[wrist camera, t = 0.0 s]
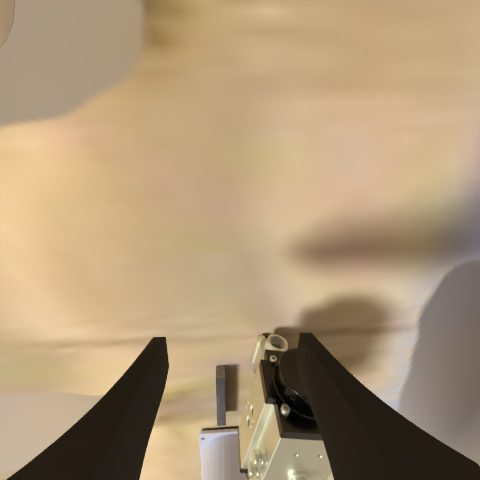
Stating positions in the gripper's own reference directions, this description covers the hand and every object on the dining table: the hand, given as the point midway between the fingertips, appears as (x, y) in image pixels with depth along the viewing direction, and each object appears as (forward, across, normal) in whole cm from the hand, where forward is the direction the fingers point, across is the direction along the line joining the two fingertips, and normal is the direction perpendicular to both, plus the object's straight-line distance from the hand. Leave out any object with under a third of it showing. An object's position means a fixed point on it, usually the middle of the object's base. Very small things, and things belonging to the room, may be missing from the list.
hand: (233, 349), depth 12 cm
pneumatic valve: (+10, -4, +10) cm, 15 cm away
